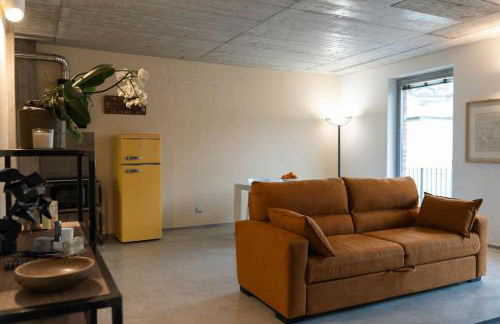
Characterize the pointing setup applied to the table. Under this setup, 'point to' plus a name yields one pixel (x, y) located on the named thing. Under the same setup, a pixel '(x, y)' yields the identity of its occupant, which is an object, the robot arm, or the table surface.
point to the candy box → (54, 212)
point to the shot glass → (67, 233)
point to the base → (70, 248)
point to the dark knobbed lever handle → (57, 236)
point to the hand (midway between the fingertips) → (43, 220)
